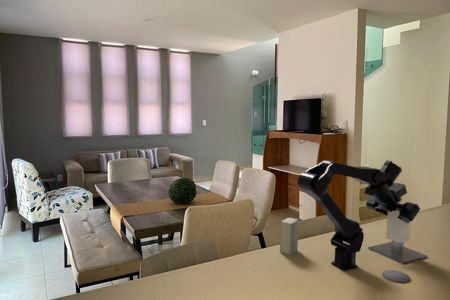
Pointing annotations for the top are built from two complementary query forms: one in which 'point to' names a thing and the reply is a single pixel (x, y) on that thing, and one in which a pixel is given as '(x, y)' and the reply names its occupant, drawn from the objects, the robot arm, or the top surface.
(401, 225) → the pink-topped tall block
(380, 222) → the top surface
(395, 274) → the slate coaster
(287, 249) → the skincare box
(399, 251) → the post plate
